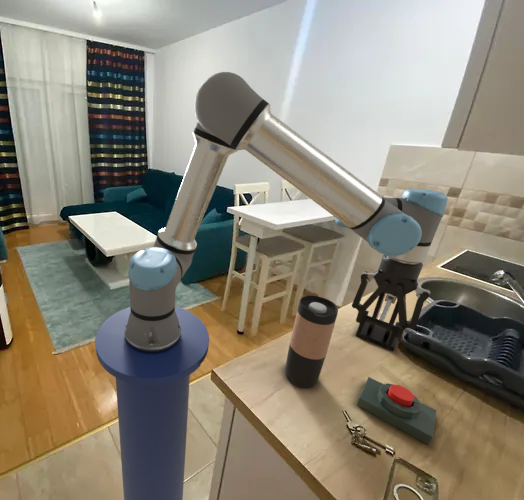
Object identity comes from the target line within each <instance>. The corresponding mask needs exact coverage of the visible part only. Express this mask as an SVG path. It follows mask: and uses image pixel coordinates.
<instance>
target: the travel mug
mask: <svg viewBox="0 0 524 500" xmlns="http://www.w3.org/2000/svg"><path fill="white" fill-rule="evenodd" d="M338 314H339V308H338V306H337V305H336V304H335V303H334V302H332V301H331V300H329V299H328V298H324V297H322V296H319V295H304V296H302V297H301V298H300V299H299V301H298V305H297V310H296V315H295V319H294V323H293V328H292V331H291V335H290V340H289V346H288V351H287V357H286V361H285V370H284V375H285V377H286V378H287V380H288V381H289V382H290V383H291V384H292V385H295V386H296V387H298V388H302V389H312V388H314V387H315V386H316V385H317V383H318V381H319V377H320V374H321V372H322V369H323V366H324V362H325V360H326V357H327V354H328V350H329V347H330V343H331V340H332V339H331V338H332V335H333V331H334V327H335V324H336V322H337V321H336V320H337V317H338Z"/></svg>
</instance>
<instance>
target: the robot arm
mask: <svg viewBox="0 0 524 500" xmlns="http://www.w3.org/2000/svg"><path fill="white" fill-rule="evenodd" d="M193 108H194V114H195V115H194V116H195V118H196V123H195V125H194V129H193V132H192V135H193V139H194V142H195V145H194V147H193V151H192V153H191V156H190V159H189V162H188V165H187V167H186V170H185V172H184V176H183V179H182V182H181V184H180V187H179V189H178V192H177V195H176V197H175V201H174V203H173V206H172V209H171V212H170V214H169V216H168V217H169V218H168V220H167V223H166V226H165V227H164V228H163V227H162V228H161V229H159V230H158V232H157V236H156V238H155V239H154V240H155V241H154V244H153V246H152V247H149V248H148V247H147V248H145V249H141V250H139V251H137V252H136V253H134V254H133V255H132V257H131V258H130V259H129V264H128V272H127V273H128V274H127V275H128V283H129V304H130V305H129V307H130V308H131V312H130V315H129V318H128V322H127V324H126V326H125V340H126V343H127V344H128V345H129V346H130V347H131V348H132V349H134V350H136V351H138V352H142V353H147V354H157V353H162V352H165V351H168V350H170V349H172V348H173V347H175V346H176V345H177V344H178V342H179V340H180V337H181V326H180V324H179V321H178V318H177V315H176V312H175V306H176V290H177V287H178V285H179V283H180V282H181V280H182V278H183V277H184V276H185V274H186V272H187V270H188V269H190V266H191V265H192V263H193V258H194V254H195V252H196V250H197V246H198V243H197V241H196V239H195V238H196V235H197V233H198V232H199V231H198V230H199V228H200V226H201V224H202V221H203V218H204V216H205V214H206V212H207V209H208V207H209V204H210V203H211V200H212V198H213V195H214V192H215V190H216V187H217V185H218V183H219V181H220V178H221V175H222V173H223V171H224V168H225V165H226V163H227V162H228V160H229V159H228V158H229V157H230V156H231V155H233V154H234V153H238V151H243V150H244V151H246V152H248V153H249V154H250V155H252V157H255V158H256V159H257V160H258V161H260V162H261V163H263V164H264V165H265V166H266V167H268V168H269V169H270V170H272V171H273V172H274V173H276V174H277V175H278V176H279V177H281V178H282V179H283V180H284V181H286V182H287V183H289V184H290V185H292V186H293V187H294V188H296V189H297V190H298V191H300V192H301V193H302V194H304V195H305V196H306V197H307V198H309V199H310V200H312V201H313V202H314V203H315V204H317V205H318V206H319V207H320V208H322V209H324V210H325V211H326V212H327V213H329V214H330V215H332V216H333V217H334V221H335V224H336V226H338V227H341V228H347V229H348V230H349V229H350V230H351V231H352V232H354V233H355V234H356V235H357V236H359V237H360V238H361V239H363V240H364V241H366V242H367V244H368V245H369V247H370V248H372V249H373V250H375V251H376V252H378V253H379V254H381V255H382V258H381V261H380V264H379V266H378V270H377V271H375V272H368V271H365V270H364V271H363V272H362V273H361V275H360V284H359V286H358V288H357V292H356V294H355V296H354V299H353V301H352V304H351V308H353V309H356V310H357V315H356V318H355V322H356V323H358V324H359V326H358V328H357V331H356V333H357V334H355V336H356V335H357V336H356V337H358V336H360V334H361V333H362V330H363V327H364V324H365V319H366V316H367V315H368V316H369V311H368V308H369V307H370V306H371V305H372V304H373V303H374V302H375V301H376V300H377V299H378V298H379V295H380V294H381V293H382V292H383V293H386V295H387V294H391V295H393V296H395V297H397V298H396V303H397V302H398V314H397V317H398V321H395V323H394V325H395V327H394V329H393V332H392V334H391V337H390V340H389V342H388V345H387V347H386V348H385V349H387V348H388V349H387V350H389V349H390V348H391V345H392V343H393V340H394V338H395V337H396V338H398V340H400V339H401V338H402V336H403V334H404V331H405V330H406V329H410V330H413V331H414V330H416V329H417V325H418V323H419V319H420V316H421V312H422V309H423V306H424V303H425V302H426V301H427V300H428V299H429V298H430V296H431V290H430V289H429V288H423V287H421V286H420V285H419V284H418V279H419V277H420V274H421V271H422V268H423V266H424V264H423V263H424V262H425V261H426V258H427V257H428V254H429V251H430V249H431V246H432V242H433V241H434V238H435V235H436V233H437V230H438V228H439V226H440V223H441V220H442V218H444V216H445V215H444V214H445V211H446V208H447V203H448V200H449V199H448V195H447V194H445V193H444V192H441V191H438V190H432V189H425V188H424V189H423V188H407V189H406V190H405V191H404V192H403V193H402V195H401V196H400V197H385V196H382V195H381V194H379V192H377V191H376V190H374V189H373V188H372V187H370V186H369V185H367V183H365V182H363V181H362V180H361V179H359V178H358V177H357V176H355V174H353V173H351V172H350V171H349V170H348V169H347V168H345V167H343V165H341V164H340V163H338V162H337V161H336V160H334V159H333V158H332V157H331V156H329V155H328V154H326V153H325V152H324V151H322V150H321V149H319V148H318V147H317V146H316V145H315V144H313V143H312V142H310V141H309V140H308V139H306V138H305V137H304V136H302V134H300V133H299V132H297V131H296V130H294V129H293V128H292V127H291V126H289V125H288V124H286V123H285V122H283V121H282V120H281V119H280V118H279V117H277V116H276V115H274V114H273V113H272V107H271V103H270V102H268V101H267V100H265V99H264V98H263V97H262V96H261V95H259V94H258V93H257V92H256V91H255V90H254V89H253V88H252V87H251V86H250V85H249V84H248V82H247V81H246V80H245V79H244V78H243V77H241V76H240V75H238V74H236V73H234V72H230V71H221V72H217V73H214V74H212V75H210V76H209V77H208V78H206V79H205V80H204V81H203V83H201V84H200V86H199V88H198V90H197V92H196V95H195V98H194V107H193ZM373 279H374V281H375V283H376V285H377V288H376V289H375V290H374V291H373V292H372V293H371V295H370V296H369V297H368V298H367V299H366V300H365V302H363V304H362V303H361V300H362V298H363V297H364V294H365V291H366V289H367V287H368V285H369V283H370V282H372V280H373ZM414 291H415V292H416V293H415V296H416V297H417V299H416V303H415V306H414V309H413V313H412V316H411V319H410V320H408V315H407V314H408V313H407V295H408V294H410V293H412V292H414Z"/></svg>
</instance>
